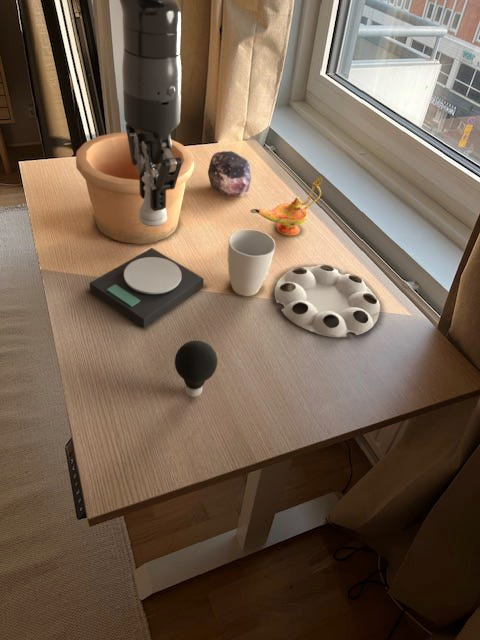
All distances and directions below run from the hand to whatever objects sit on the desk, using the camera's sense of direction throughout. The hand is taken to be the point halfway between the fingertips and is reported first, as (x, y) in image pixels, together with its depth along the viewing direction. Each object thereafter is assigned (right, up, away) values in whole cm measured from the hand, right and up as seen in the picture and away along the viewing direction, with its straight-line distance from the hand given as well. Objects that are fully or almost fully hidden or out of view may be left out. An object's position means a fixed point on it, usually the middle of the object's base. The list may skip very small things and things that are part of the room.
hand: (152, 202), depth 79 cm
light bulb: (+7, -29, -3) cm, 30 cm away
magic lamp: (+22, +1, +32) cm, 39 cm away
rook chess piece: (0, -2, +2) cm, 3 cm away
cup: (+14, -12, +16) cm, 25 cm away
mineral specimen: (+11, +12, +41) cm, 44 cm away
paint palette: (+29, -14, +16) cm, 37 cm away
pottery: (-8, +2, +28) cm, 29 cm away
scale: (-3, -13, +13) cm, 18 cm away
